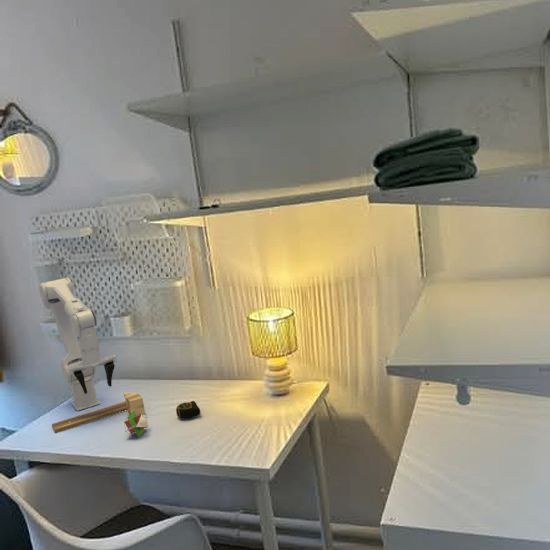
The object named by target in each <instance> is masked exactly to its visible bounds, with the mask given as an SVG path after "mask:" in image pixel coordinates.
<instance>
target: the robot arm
mask: <svg viewBox="0 0 550 550" xmlns="http://www.w3.org/2000/svg"><path fill="white" fill-rule="evenodd" d="M38 289H39V295H40V298H41V300H42V304H43V306H44V308H45V309H48V310H50V311H51V313H52V315H53V317H54V321H55V323H56V327H57V329H58V332H59V335H60V338H61V340H62V344H63V347H64V350H65V354H66V355H65V357H64V358H62V360H61V368H62V369H61V370H62V374H63V378H64V380H65V381H66V382H67V383H68V384H70V386H71V392H72V397H73V401H71V404H72V406H73V408H74V409H75V410H76V411H81V410H85V409H88V408H91V407H95V406H98V405H101V401H100V400H99V399H98V397H97V394H96V388H95V384H94V378H95V375H96V373H97V368H98V367H101V366H103V368H104V371H105V375H106V383H107V385H108V387H112V380H113V374H114V370H115V366H116V365H115V363H117V355H115V354H112V355H108V356H102V355H101V349H100V345H99V339H98V336H97V331H96V330H97V329H96V327H97V325H98V319H97V316H96V313H95V311H94V309H92V308H87V306H85V304H84V303H83V302H82V301H81V299H79V298H77V297H76V298H75V296H74V295H73V294H74V286H73V283H72V281H71V279H70V278H69V277H68V276H65V277H64V278H60V279H59V278H58V279H55V280H54V279H53V280H51V281H46V282H41V283H40V284H39V286H38Z"/></svg>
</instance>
